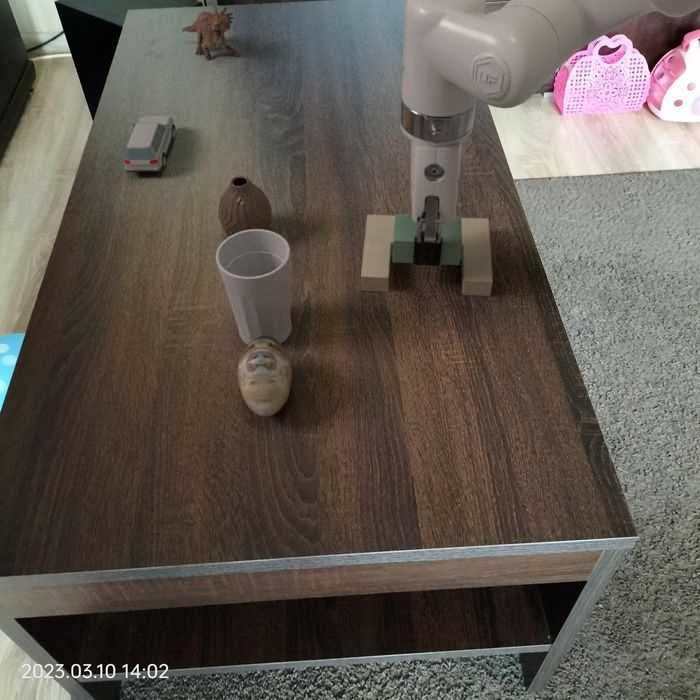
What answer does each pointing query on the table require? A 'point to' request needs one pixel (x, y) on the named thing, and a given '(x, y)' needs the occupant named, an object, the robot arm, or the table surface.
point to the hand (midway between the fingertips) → (426, 246)
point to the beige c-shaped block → (472, 256)
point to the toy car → (149, 144)
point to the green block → (408, 230)
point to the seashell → (265, 375)
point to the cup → (257, 282)
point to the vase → (244, 207)
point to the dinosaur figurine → (212, 31)
